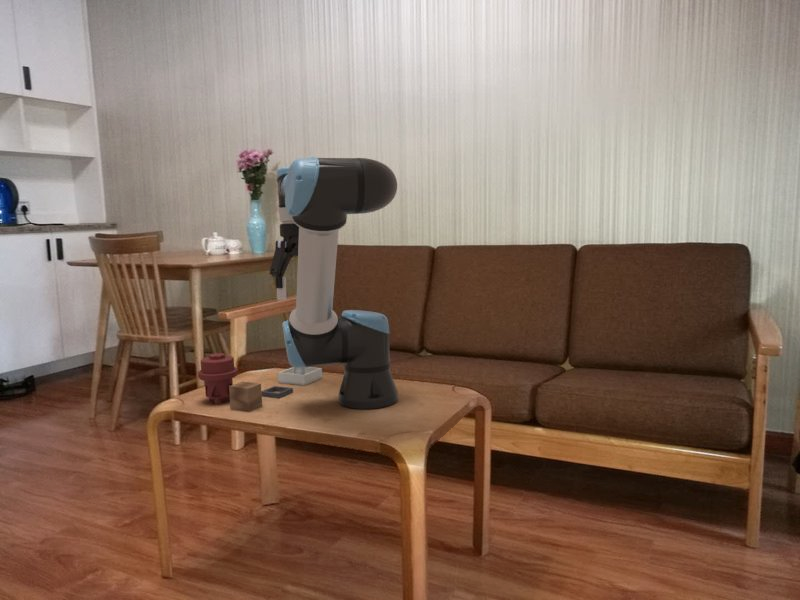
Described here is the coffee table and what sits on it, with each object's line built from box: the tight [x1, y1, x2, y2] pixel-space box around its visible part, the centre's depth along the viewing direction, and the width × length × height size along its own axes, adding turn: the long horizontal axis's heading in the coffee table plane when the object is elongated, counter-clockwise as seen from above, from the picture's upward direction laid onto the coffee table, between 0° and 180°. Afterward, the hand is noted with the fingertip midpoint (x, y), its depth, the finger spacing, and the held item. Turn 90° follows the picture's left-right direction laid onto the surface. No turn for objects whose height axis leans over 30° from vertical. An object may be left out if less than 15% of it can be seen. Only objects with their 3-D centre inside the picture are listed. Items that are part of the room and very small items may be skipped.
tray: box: [277, 366, 323, 387], centre depth 183 cm, size 9×9×3 cm
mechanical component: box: [197, 352, 239, 405], centre depth 164 cm, size 12×10×10 cm
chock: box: [229, 381, 263, 413], centre depth 157 cm, size 6×5×6 cm
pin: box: [294, 367, 305, 375], centre depth 183 cm, size 3×3×12 cm
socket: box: [261, 385, 294, 399], centre depth 169 cm, size 6×6×1 cm
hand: (296, 297), depth 180 cm, fingers open, 13 cm apart
